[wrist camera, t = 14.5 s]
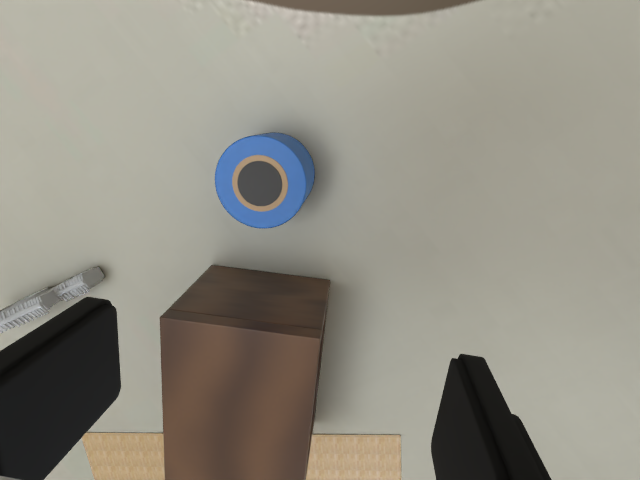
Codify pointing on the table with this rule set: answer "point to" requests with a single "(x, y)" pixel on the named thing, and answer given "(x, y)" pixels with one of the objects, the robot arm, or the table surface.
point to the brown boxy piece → (242, 375)
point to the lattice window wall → (48, 299)
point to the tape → (264, 179)
